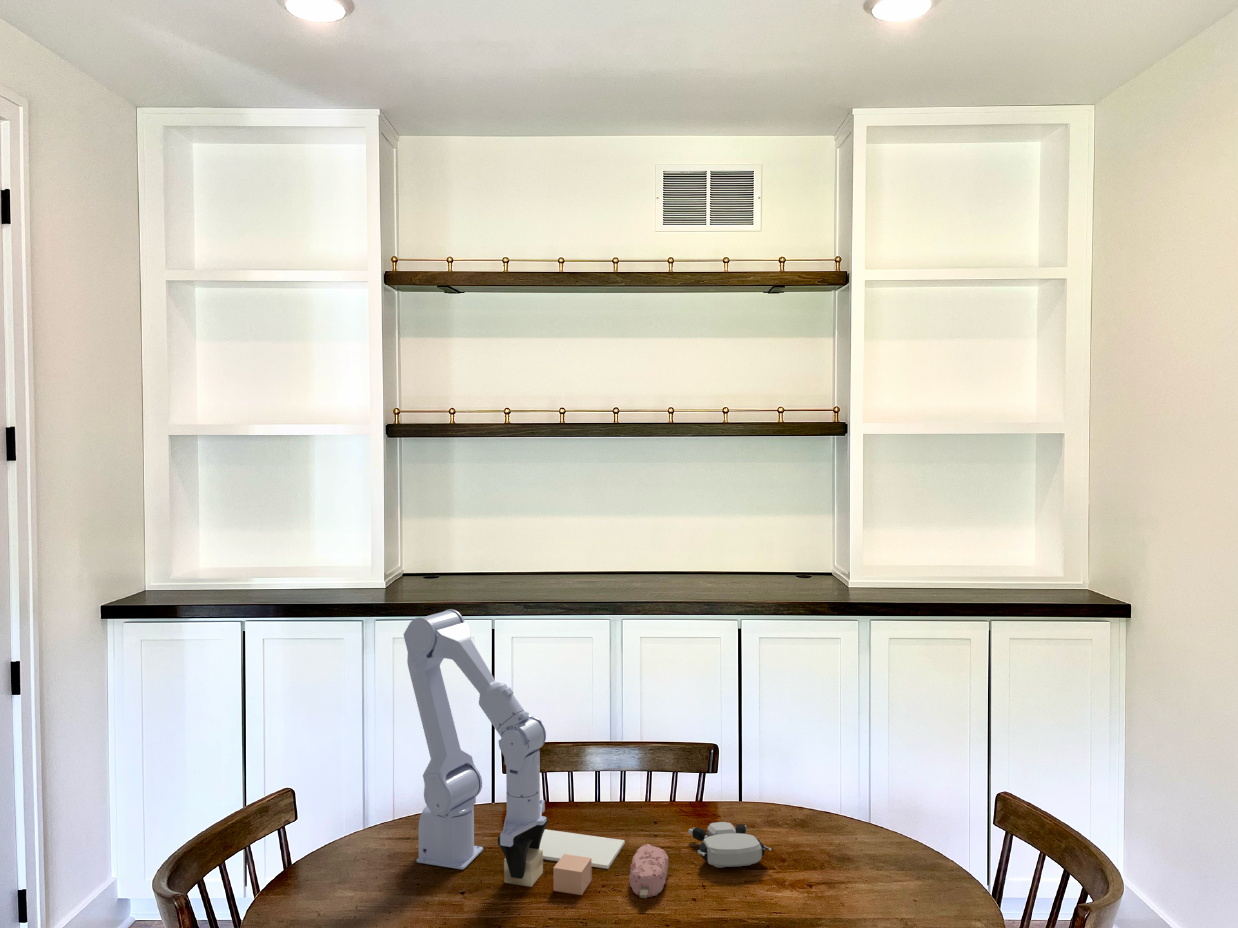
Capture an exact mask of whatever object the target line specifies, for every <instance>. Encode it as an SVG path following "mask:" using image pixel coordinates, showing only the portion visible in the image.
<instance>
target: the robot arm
mask: <svg viewBox="0 0 1238 928" xmlns="http://www.w3.org/2000/svg"><path fill="white" fill-rule="evenodd" d="M470 629H471V628H470V626H469V624H468V623H467V622H466V621H465V619H464V617H463V616H462V614H461V613H460V612H459V611H457V610H456V609H453V608H451V609H450V608H449V609H446V610H444V611H441V612H438V613H437V612H436V613H433V614H430V615H427V616H423V617H420V616H419V617H416V618H414V619H412V620H411V621H410V622H409V624H408V625H407V627H406V629H405V631H404V633H403V639H404V643H405V647H406V651H407V661H406V662H407V669H408V672H409V676H410V677H409V678H410V680H411V684H412V685H411V686H412V689H413V692H414V696H415V700H416V704H417V707H418V712H419V716H420V722H421V724H422V728H423V733H424V736H425V740H426V745H427V749H428V753H429V757H430V760H429V763H428V764H427V766H426V768H425V770H424V772H423V774H422V779H423V783H424V788H423V798H424V799H423V800H424V802H425V807H424V808H423V810H422V811H421V814H420V816H419V821H418V858H416V863H419V864H425V865H431V866H438V867H444V868H450V869H451V868H452V869H456V870H464V869H465V868H467V867H468V866H469V865H470V863H472V862H473V860H474V859H476V858H477V857H478V856H480V855H479V854H481V853H482V852H483V851H484V847H483V846H479V845H478V846H477V845H475V819H474V816H475V813H474V812H475V811H474V809H475V804H476V803H477V802H476V801H477V799H476V798H477V796H478V795H479V794H480V793H481V791H482V788H483V778H482V776H481V773H480V771H479V770H478V769H477V766H476V765H475V762H474V760H473V756H472V755H471V754H469V753H467V752H466V751H465V750H462V749H461V745H460V741H459V737H458V734H457V730H456V725H455V721H454V718H453V713H452V709H451V706H450V701H449V697H448V694H447V693H448V692H447V689H446V685H445V682H444V678H443V675H442V674H443V673H442V669H441V663H442V662H443V660H444V659H447V660H452V661H453V663H455V665H456V667H458V668H459V670H461V672H462V673H463V674H464V675H465V677H466V679H467V680H469V682H470V683H471V685H472V686H473V688H475V690H476V691H477V692H478V693H479V697H478V698H479V699H478V706H479V707H480V708H481V710H482V711H483V713H484V714H485V716H486V717H487V719H488V720H489V721H490V723H491V725H492V726H493V727H494V729H495V731H496V732H497V733H498V735H499V736H500V739H498V746H499V750H500V752H501V754H502V755H503V757H504V765H505V768H506V771H505V772H506V773H505V774H506V775H505V776H506V781H505V782H506V796H505V797H506V798H505V799H506V815H505V818H504V823H503V828H502V830H501V832H500V835H499V836H498V837H497V844H498V846H499V848H500V849H501V851H502V853H503V855H504V857H505V858H506V861H507V864H508V868H509V872H510V875H511V877H512V878H518V879H522V878H523V876H524V872H525V865H526V856H527V852H528V849H529V848H533V849H539V847H540V842H541V839H542V835H543V833H544V830H545V829H546V828H547V826H548V823H549V818H547V817H546V816H543V815H542V814H543V813H544V812H545V811H546V810H545V809H546V804H545V803H546V801H545V800H544V799H541V779H540V776H541V774H540V773H541V771H540V769H541V768H540V767H541V766H540V765H541V764H540V763H541V762H540V759H541V758H540V756H541V755H540V754H541V752H540V751H541V750H540V748H542V747H543V746H544V744H545V742H546V739H547V733H546V728H545V726H544V725H543V722H542V720H541V719H539V718H538V717H537V716H534V715H531V714H530V713H529V712H527V711H525V709H524V708H523V707H522V705H521V704H520V703H519V700H518V699H517V698H516V697H515V695H514V691H513V689H512V688H511V687H509V686H508V685H507V684H506V683H504V682H499V681H496V679H495V678H494V675H493V674H492V673H491V671H490V669H489V668H488V666H487V664H486V662H485V661H484V659H483V657H482V656H481V653H479V651H478V648H476V647H477V646H476V645H475V644H474V642H473V640H472V637H471V630H470ZM505 858H504V859H505Z"/></svg>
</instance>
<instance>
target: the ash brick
mask: <svg viewBox="0 0 1238 928" xmlns="http://www.w3.org/2000/svg"><path fill="white" fill-rule="evenodd" d="M503 862H504V863H503V871H504V872H503V876H504V878H503V881H504V883H506V884H512V885H518V886H523V887H529V888H532V887H533V886H534V885H535V883H536V882H537V881H538V880H539V878H540V877H541V876H542V874H543V873H544V864H543V863H544V859H543V850H540V849H533V848H529V849H528V852H527V856H526V865H525V872H524V876H523V878H522V879H518V878H512V877H511V875H510V872H509V868H508V864H507V861H506V858H504V859H503Z"/></svg>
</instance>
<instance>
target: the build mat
mask: <svg viewBox="0 0 1238 928" xmlns="http://www.w3.org/2000/svg"><path fill="white" fill-rule="evenodd" d="M625 844H626V843H625V840H624V839H618V838H611V837H610V838H609V837H602V836H596V835H588V834H583V833H582V834H580V833H575V832H567V831H560V830H553V829H546V828H545V830H544V833H543V835H542V839H541V842H540V847H539V849H540V850H543V860H546V861H551V862H552V861H553V862H558V861H559V860H560V859H561V857H562V856H563V855H564V854H567V855H574V856H581V857H588V858H591V868H592V867H594V868H599V869H606V870H609V868H610V867H611V865H612V864H613V863H614V861H615V859H616V858H617V856H618V854H619V853H620V852H621V851H622V849H623V847H624V846H625Z"/></svg>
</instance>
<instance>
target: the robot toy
mask: <svg viewBox="0 0 1238 928" xmlns="http://www.w3.org/2000/svg"><path fill="white" fill-rule="evenodd" d="M747 828H748V827H747V825H745V824H742V823H739V824H736V827H735V826H734V825H733V824H732V823H731V822H726V821H718V822H711V823H709V825H708V826H707V831H706V830H705V829H703V828H701V827H697V826H696V827H693V828H689V829H688V834H689V835H692V838H693V839H695V840H697V841H700V842H701V843H700V844H699V849H698V850H697V854H698V855H700V857H701V858H702V859H703V860H704V861H705V862H707V863H708V864H709V865H711V866H713V867H715V868H719V869H722V868H726V867H729V868H731V867H732V868H733V867H734V868H735V867H743V866H745V867H747V866H751V865H753V864H757V863H758V862H759V861H761V860H762V857H763V856H765V852H766V851H765V850H767V851H772V848H771V847H768V846H766V845H764V844H763V842H761V841H760V839H758V838H757V837H756V836H754V835H752V834H747V830H748V829H747Z"/></svg>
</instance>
